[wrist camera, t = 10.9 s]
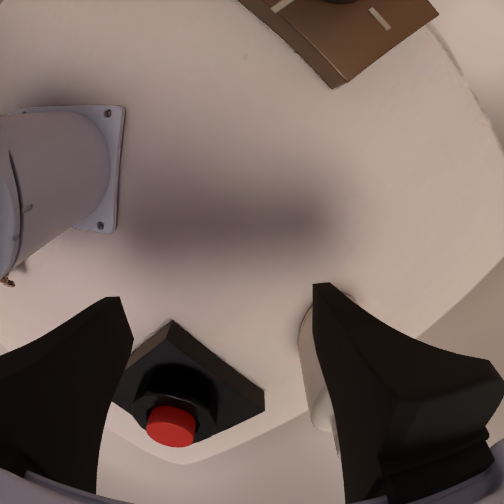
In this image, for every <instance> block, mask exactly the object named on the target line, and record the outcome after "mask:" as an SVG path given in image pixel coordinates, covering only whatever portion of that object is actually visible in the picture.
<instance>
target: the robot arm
mask: <svg viewBox="0 0 504 504" xmlns="http://www.w3.org/2000/svg"><path fill="white" fill-rule="evenodd" d="M108 110H111V111H112V114H111V116H110V117H108V116H107V112H108ZM124 118H125V110H124V108H123V107H122V106H117V105H69V106H46V107H32V108H20V109H14V110H13V111H12V113H11V115H0V280H1V279H2V277H4V276H5V275H6V274H7V273H9V272H10V271H11V270H12V269H14V268H15V267H16V266H18V265H19V264H20V263H21V262H23V261H24V260H25V259H27V258H28V257H29V256H31V255H32V254H33V253H35V252H36V251H37V250H39V249H40V248H41V247H43V246H44V245H46V244H47V243H48V242H50V241H51V240H53V239H54V238H55V237H57V236H58V235H60V234H61V233H63V232H64V231H66V230H67V229H69V228H76V229H81V230H87V231H93V232H99V233H105V234H111V233H112V232H114V230H115V229H116V214H117V191H118V176H119V163H120V152H121V142H122V134H123V125H124ZM100 222H102V223H103V224H104V228H103V227H101V226H100ZM312 333H313V339H314V344H315V350H316V354H317V358H318V361H319V364H320V367H321V370H322V374H323V377H324V380H325V383H326V386H327V390H328V393H329V396H330V399H331V403H332V407H333V411H334V416H335V422H336V428H337V434H338V440H339V447H340V454H341V462H342V471H343V479H344V491H345V504H504V438H503V439H501V440H500V441H498V442H497V443H495V444H494V445H493V446H492V447H491V448H489V447H488V445H487V443H486V440H487V439H488V438H489V433H488V431H487V429H486V427H485V426H486V424H487V423H488V421H489V420H490V418H491V417H492V416H493V414H494V412H495V411H496V409H497V408H498V406H499V405H500V403H501V401H502V399H503V396H504V380H503V379H502V378H501V376H500V375H499V373H498V372H497V371H496V369H495V368H494V367H493V365H492V364H491V362H490V361H489V360H485V359H480V358H475V357H469V356H465V355H460V354H456V353H453V352H449V351H446V350H443V349H439V348H436V347H433V346H431V345H428V344H426V343H423V342H421V341H418V340H416V339H413V338H411V337H409V336H407V335H405V334H403V333H401V332H399V331H397V330H395V329H394V328H392V327H390V326H388V325H386V324H385V323H383V322H381V321H380V320H378V319H377V318H375V317H374V316H372V315H371V314H369V313H368V312H367V311H365V310H364V309H362V308H361V307H360V306H358V305H357V304H356V303H354V302H353V301H352V300H351V299H349V298H348V297H347V296H346V295H345V294H343V293H342V292H341V291H340V290H338V289H337V288H336V287H335V286H334V285H332V284H331V283H330V282H328V283H318V284H313V306H312ZM133 341H134V338H133V335H132V332H131V329H130V327H129V324H128V321H127V318H126V315H125V312H124V309H123V306H122V303H121V300H120V297H105V298H103V299H101V300H99V301H97V302H96V303H94V304H92V305H91V306H89V307H88V308H86V309H84V310H83V311H81V312H80V313H78V314H77V315H75V316H74V317H72V318H71V319H69V320H68V321H66V322H65V323H63V324H61V325H60V326H58V327H57V328H55V329H54V330H52V331H50V332H49V333H47V334H45V335H44V336H42V337H40V338H38V339H36V340H34V341H33V342H31V343H29V344H27V345H25V346H22V347H20V348H18V349H15V350H13V351H10V352H8V353H6V354H3V355H1V356H0V504H133V503H128V502H124V501H119V500H115V499H110V498H106V497H103V496H99V495H96V479H97V466H98V457H99V450H100V443H101V439H102V433H103V429H104V425H105V421H106V417H107V413H108V410H109V407H110V404H111V401H112V399H113V396H114V394H115V391H116V389H117V387H118V384H119V382H120V380H121V377H122V375H123V372H124V370H125V367H126V365H127V363H128V360H129V356H130V353H131V349H132V345H133Z"/></svg>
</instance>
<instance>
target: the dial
mask: <svg viewBox="0 0 504 504" xmlns="http://www.w3.org/2000/svg"><path fill="white" fill-rule="evenodd" d="M325 1H328V2H333V3H351V2H355V1H357V0H325Z"/></svg>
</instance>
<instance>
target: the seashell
mask: <svg viewBox="0 0 504 504" xmlns="http://www.w3.org/2000/svg"><path fill="white" fill-rule="evenodd" d="M8 274H9V273H7V274H6V275H5V276H4V277H2V279H1V280H0V282H2V283H3V284H4V285H6V286H8V287H15V284H14V281H10V280H9V279H8V277H7V276H8Z"/></svg>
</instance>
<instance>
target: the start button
mask: <svg viewBox="0 0 504 504" xmlns="http://www.w3.org/2000/svg"><path fill="white" fill-rule="evenodd" d="M195 428H196V420H195V418H194V416H193V415H192V414H190V413H189V412H187V411H186V410H184V409H180V408H176V407H173V406H169V405H162V406H156V407H155V408H153V409H152V410H151V413H150V416H149V420H148V423H147V427H146V431H147V434H148V435H149V436H150V437H151V438H152V439H153V440H155V441H156V442H158V443H161V444H163V445H166V446H170V447H186V446H189V445H190V444H192V442H193V440H194V434H195Z"/></svg>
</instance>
